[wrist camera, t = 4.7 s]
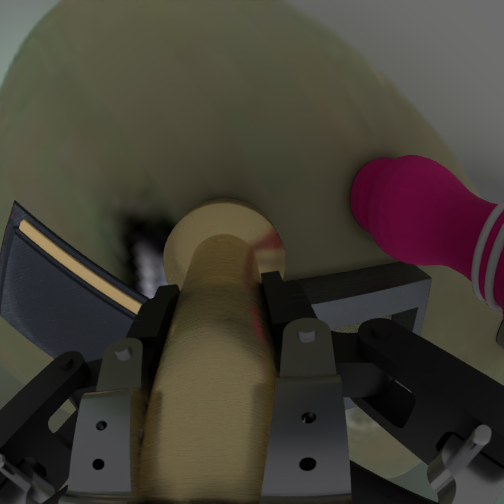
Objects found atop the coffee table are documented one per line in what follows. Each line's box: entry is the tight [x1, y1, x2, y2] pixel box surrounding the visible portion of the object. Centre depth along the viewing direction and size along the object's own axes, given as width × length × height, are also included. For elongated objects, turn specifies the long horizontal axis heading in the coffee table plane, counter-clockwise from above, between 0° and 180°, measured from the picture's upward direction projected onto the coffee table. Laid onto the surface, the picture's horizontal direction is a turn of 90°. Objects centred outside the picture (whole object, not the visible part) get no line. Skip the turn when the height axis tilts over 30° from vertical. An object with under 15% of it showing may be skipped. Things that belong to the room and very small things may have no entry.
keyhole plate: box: [295, 262, 432, 410], centre depth 23 cm, size 19×14×4 cm
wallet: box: [0, 200, 149, 362], centre depth 21 cm, size 20×2×15 cm
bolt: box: [139, 198, 286, 504], centre depth 10 cm, size 6×6×14 cm
